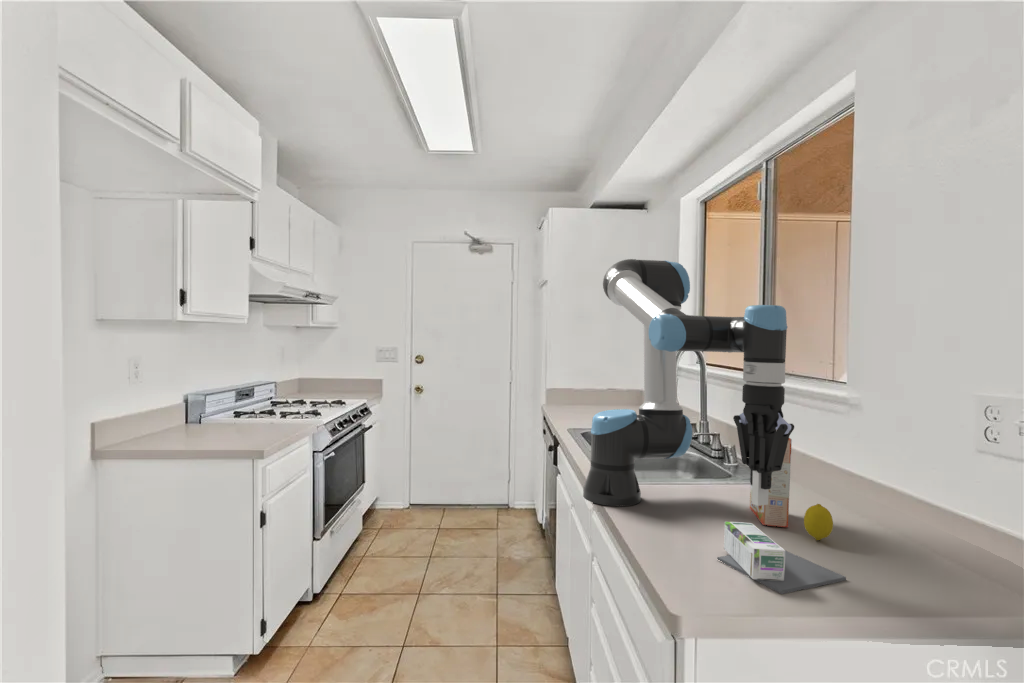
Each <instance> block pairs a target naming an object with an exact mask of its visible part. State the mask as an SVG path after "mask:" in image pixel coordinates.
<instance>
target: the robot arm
mask: <svg viewBox="0 0 1024 683" xmlns="http://www.w3.org/2000/svg"><path fill="white" fill-rule="evenodd" d="M602 280H603V281H602V288H603V292H604V293H605V296H606V297H607V298H608V299H609V300H610V301H611V302H612V303H613V304H615V305H617V306H621V307H623V308H625V309H626V311H628V312H629V313H630V314H632V315H633V316H634V317H635V318H636V319H637V320H638V321H639V322H641V323H642V325H643V378H644V379H643V380H644V381H643V382H644V383H643V385H644V386H643V387H644V388H643V389H644V395H643V396H644V398H643V399H644V401H643V403H642V404H640V406H639V407H638V414H637V412H636V411H635V410H633V409H629V408H628V409H627V408H623V409H622V408H621V409H620V408H619V409H618V408H617V409H607V410H602V411H599V412H596V413H595V414H594V415H593V417H592V421H591V429H590V435H591V437H590V469H589V470H588V471H589V472H588V475H587V476H586V480H585V482H584V486H583V491H582V497H583V498H584V499H585V500H586V501H588V502H591V503H594V504H597V505H603V506H609V507H610V506H611V507H629V506H634V505H638V504H639V503H640V502H641V501H642V500H641V496H642V495H641V494H642V493H641V489H640V488H641V487H640V485H639V482H638V478H637V475H636V474H637V473H636V471H635V469H636V466H635V463H636V460H637V459H640V460H641V459H642V460H643V459H666V460H668V459H674V458H680V457H682V456H684V455H685V454H686V453H687V451H688V450H689V448H690V447H691V443H692V440H693V425H692V423H691V420H690V418H689V417H688V416H687V415H685V414H684V411H683V410H684V409H683V407H682V406H681V405H680V404H679V403H678V402H677V401H678V400H677V399H678V398H677V396H678V393H677V390H678V388H677V387H678V386H677V382H678V381H677V352H709V353H710V352H713V353H743V371H742V374H743V376H742V380H743V382H745V383H744V384H743V385H742V395H741V396H742V398H741V399H742V402H743V403H744V406H743V409H742V413H740V414H735V415H734V416H732V417H733V421H734V423H735V425H736V426H735V427H736V430H737V437H738V444H739V449H740V456H741V462H742V464H743V465H747V466H748V468H749V470H750V473H749V474H750V476H749V477H750V479H749V482H750V486H751V485H752V504H754V505H757V506H760V505H768V493H769V489H770V488H771V476H772V472H774V471H780V470H781V468H782V464H783V460H784V456H785V452H786V448H787V444H788V440H789V438H790V435H791V434H792V433H793V432H794V429H795V425H794V423H788V422H787V420H786V419H785V418H784V413H783V411H782V407H783V406H784V404H785V396H786V395H785V391H786V390H785V387H784V386H782V384H783V385H784V384H785V383H786V355H787V354H786V353H787V334H788V333H787V331H788V324H787V321H788V320H787V310H786V308H785V307H784V306H782V305H778V304H777V305H775V304H756V305H755V304H754V305H747V307H746V308H745V309H744V315H743V316H711V315H689V314H686V313H684V312H683V311H682V304H684V303H685V302H686V301H687V300H688V299H689V294H690V292H691V282H690V281H691V280H690V277H689V274H688V271H687V269H686V268H685V267H684V266H683V265H682V263H679V262H676V261H669V260H655V259H654V260H653V259H651V260H650V259H636V258H634V259H633V258H630V259H629V258H628V259H623V260H619V261H618V262H616V263H614V264H613V265H611V266H610V267H609V268H608V269H607V271H606V273H605V274H604V276H603V279H602Z"/></svg>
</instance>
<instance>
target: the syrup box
mask: <svg viewBox="0 0 1024 683" xmlns="http://www.w3.org/2000/svg"><path fill="white" fill-rule="evenodd" d="M723 533H724V534H723V535H724V537H723V538H724V540H723V541H724V542H723V549H724V550H725V552H726V553H727V554H728V555H730V556H731V557H732V558H733V559H734V560H735V561H736V562H737V563H738V564H739V565H740V566H741V567H742V568H743V569H744V570H745V571H746V572H747V573H748V574H749V575H750V577H751V578H750V577H749V578H750V579H752V580H754V579H761V580H771V581H784V571H785V549H784V548H783V547H781V545H780V544H778V543H777V542H775V541H774V540H773V539H772V538H770V536H768V535H767V534H766V533H765V532H763V531H762V530H761V529H759V528H758V527H757V526H756V525H755V524H754V523H752V522H741V521H740V522H739V521H724V532H723Z"/></svg>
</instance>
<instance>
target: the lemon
mask: <svg viewBox="0 0 1024 683" xmlns="http://www.w3.org/2000/svg"><path fill="white" fill-rule="evenodd" d="M803 516H804V518H803V525H804V528H805V531H806V533H808V535H810V536H811V537H812V538H814V540H815V541H817V540H820V541H821V540H823V539H826V538H827V537H829V536H830V535H831V533H832V532H833V529H834V520H833V516H832V514H831V512H830V511H829V509H827V508H826V507H825V506H823V505H822V504H820V503H817V504H814V505H811V506H810V507H808V508H807V509H806V511H805V513H804V515H803Z"/></svg>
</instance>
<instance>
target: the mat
mask: <svg viewBox="0 0 1024 683" xmlns="http://www.w3.org/2000/svg"><path fill="white" fill-rule="evenodd" d="M784 550H785V549H784ZM717 559H718V560H720V561H722V562H723V563H722V562H721V563H722V564H724V563H725V564H727V565H728V566H727V565H726V566H727V567H729V566H731V567H732V569H733V568H734V569H733V570H735V569H736V570H735V571H737V572H739V573H741V574H742V575H744V574H745V576H746V575H747V576H746V577H748V576H749V577H748V578H750V579H752V578H751V577H750V575H749V574H748V573H747V572H746V571H745V570H744V569H743V568H742V567H741V566H740V565H739V564H738V563H737V562H736V561H735V560H734V559H733V558H732V557H731V556H730V555H729V554H727V555H722V556H717V558H716V560H717ZM718 560H717V561H718ZM720 561H719V562H720ZM725 564H724V565H725ZM731 567H730V568H731ZM753 580H754V581H755V582H757V583H760V584H761V585H764V586H766V587H767V588H769V589H771V590H773V591H775V592H777V593H779V594H780V595H782V594H783V595H785V594H789V593H792V592H797V590H798V591H802V590H801V589H803V590H807V589H811V588H815V587H821V586H826V585H829V584H830V585H831V584H834V583H840V582H845V581H847V576H845V575H843V574H841V573H838V572H836V571H834V570H831V569H829V568H827V567H825V566H823V565H820V564H817V563H815V562H813V561H811V560H809V559H806V558H804V557H802V556H799V555H797V554H795V553H792V552H790V551H787V550H785V571H784V581H771V580H761V579H753ZM788 592H789V593H788Z"/></svg>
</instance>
